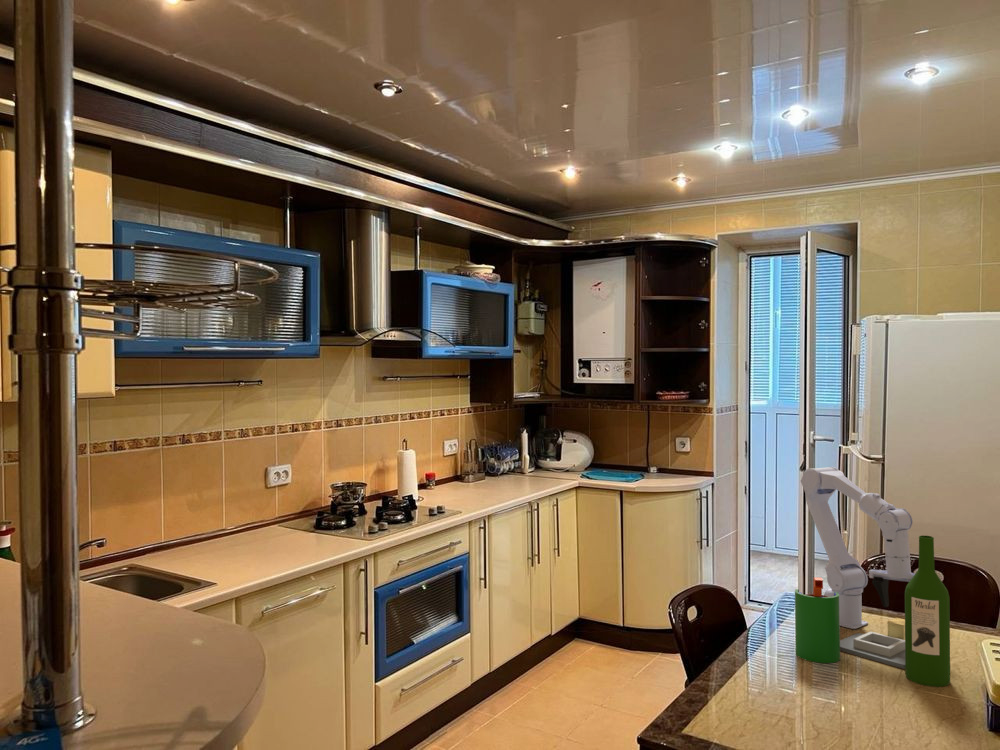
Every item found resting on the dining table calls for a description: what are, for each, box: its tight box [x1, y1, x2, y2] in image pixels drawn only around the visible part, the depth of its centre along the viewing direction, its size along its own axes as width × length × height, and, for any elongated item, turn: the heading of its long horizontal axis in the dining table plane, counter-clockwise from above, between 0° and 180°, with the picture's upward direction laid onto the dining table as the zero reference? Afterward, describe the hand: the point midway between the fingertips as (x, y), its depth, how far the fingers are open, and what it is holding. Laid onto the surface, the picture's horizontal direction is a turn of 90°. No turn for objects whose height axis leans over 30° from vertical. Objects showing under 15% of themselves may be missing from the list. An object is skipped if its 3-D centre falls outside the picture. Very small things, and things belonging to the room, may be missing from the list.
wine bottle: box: [904, 535, 951, 688], centre depth 173 cm, size 9×9×32 cm
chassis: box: [840, 631, 905, 670], centre depth 191 cm, size 18×14×3 cm
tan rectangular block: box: [887, 617, 905, 640], centre depth 197 cm, size 4×5×6 cm
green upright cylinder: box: [794, 576, 841, 664], centre depth 188 cm, size 10×9×20 cm
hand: (901, 609), depth 197 cm, fingers open, 7 cm apart
